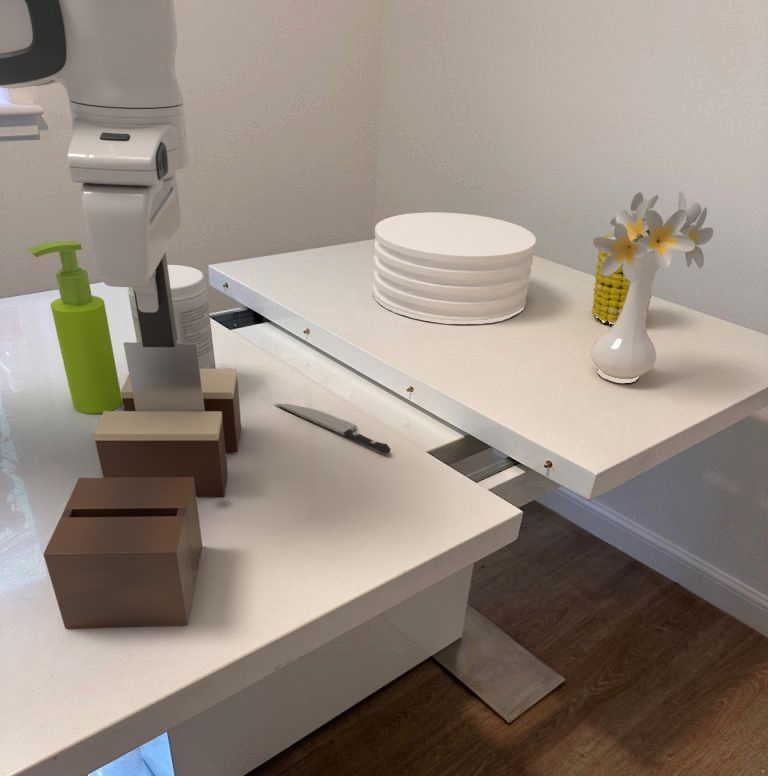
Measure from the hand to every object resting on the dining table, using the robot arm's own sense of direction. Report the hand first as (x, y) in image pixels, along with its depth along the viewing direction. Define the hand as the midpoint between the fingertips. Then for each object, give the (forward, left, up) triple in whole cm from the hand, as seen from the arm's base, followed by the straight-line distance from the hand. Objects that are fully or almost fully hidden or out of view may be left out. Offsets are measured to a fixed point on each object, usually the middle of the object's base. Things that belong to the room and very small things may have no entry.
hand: (153, 303), depth 68 cm
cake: (0, +8, -19) cm, 21 cm away
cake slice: (-1, -2, -19) cm, 19 cm away
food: (+68, +50, -20) cm, 87 cm away
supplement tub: (-3, +23, -20) cm, 30 cm away
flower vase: (+60, +26, -20) cm, 68 cm away
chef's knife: (+18, +11, -19) cm, 29 cm away
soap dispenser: (-13, +17, -20) cm, 29 cm away
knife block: (-1, -18, -19) cm, 27 cm away
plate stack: (+40, +60, -20) cm, 75 cm away
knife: (0, 0, -14) cm, 14 cm away
